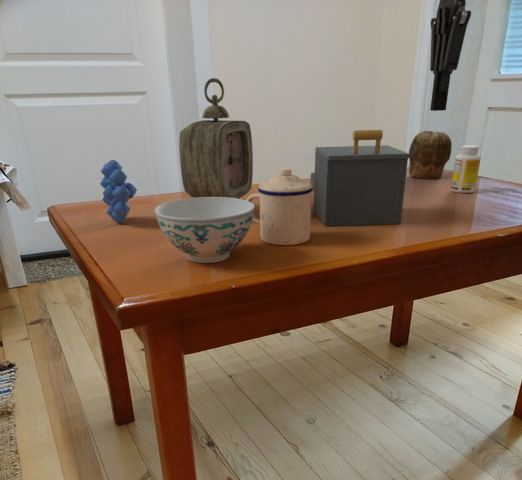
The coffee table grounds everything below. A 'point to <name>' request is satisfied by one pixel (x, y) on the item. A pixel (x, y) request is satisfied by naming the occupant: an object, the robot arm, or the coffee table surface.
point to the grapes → (116, 191)
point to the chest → (359, 191)
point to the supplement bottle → (466, 170)
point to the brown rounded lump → (429, 154)
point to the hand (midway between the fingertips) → (437, 110)
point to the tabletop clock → (216, 153)
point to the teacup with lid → (284, 209)
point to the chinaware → (205, 225)
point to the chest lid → (362, 149)
